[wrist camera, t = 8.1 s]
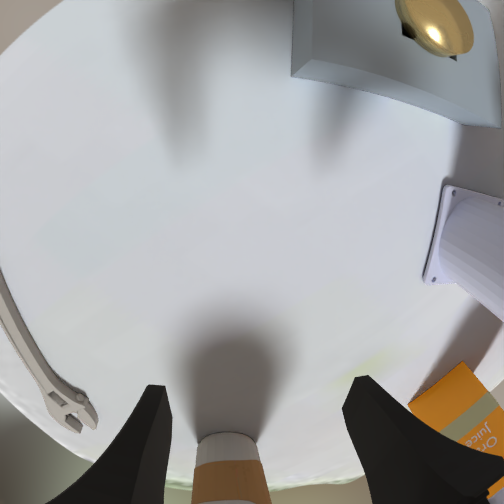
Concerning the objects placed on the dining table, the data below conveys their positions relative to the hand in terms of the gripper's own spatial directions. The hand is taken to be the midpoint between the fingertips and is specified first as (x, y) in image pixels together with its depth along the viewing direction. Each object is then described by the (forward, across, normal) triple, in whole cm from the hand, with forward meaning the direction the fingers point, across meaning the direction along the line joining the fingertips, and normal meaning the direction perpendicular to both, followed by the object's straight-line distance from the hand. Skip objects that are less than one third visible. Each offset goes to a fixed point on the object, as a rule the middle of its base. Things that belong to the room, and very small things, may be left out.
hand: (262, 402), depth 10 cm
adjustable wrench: (+10, +19, +7) cm, 22 cm away
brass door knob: (+9, -9, -18) cm, 22 cm away
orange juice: (+10, -26, +17) cm, 33 cm away
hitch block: (+9, -9, -18) cm, 22 cm away
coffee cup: (+10, +1, +20) cm, 22 cm away
